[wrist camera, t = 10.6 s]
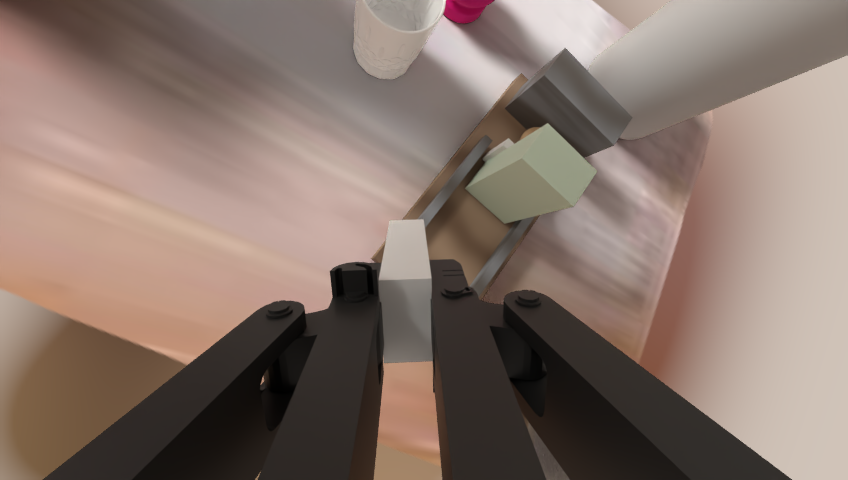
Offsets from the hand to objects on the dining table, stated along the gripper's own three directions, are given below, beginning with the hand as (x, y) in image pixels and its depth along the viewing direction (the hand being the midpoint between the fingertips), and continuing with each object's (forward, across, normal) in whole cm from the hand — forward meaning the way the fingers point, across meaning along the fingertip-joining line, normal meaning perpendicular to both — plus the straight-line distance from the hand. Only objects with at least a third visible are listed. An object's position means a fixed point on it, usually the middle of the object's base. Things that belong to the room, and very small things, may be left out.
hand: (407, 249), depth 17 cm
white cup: (+32, -2, +12) cm, 34 cm away
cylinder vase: (+39, +29, +7) cm, 49 cm away
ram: (+27, +10, -2) cm, 28 cm away
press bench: (+28, +9, -4) cm, 30 cm away
